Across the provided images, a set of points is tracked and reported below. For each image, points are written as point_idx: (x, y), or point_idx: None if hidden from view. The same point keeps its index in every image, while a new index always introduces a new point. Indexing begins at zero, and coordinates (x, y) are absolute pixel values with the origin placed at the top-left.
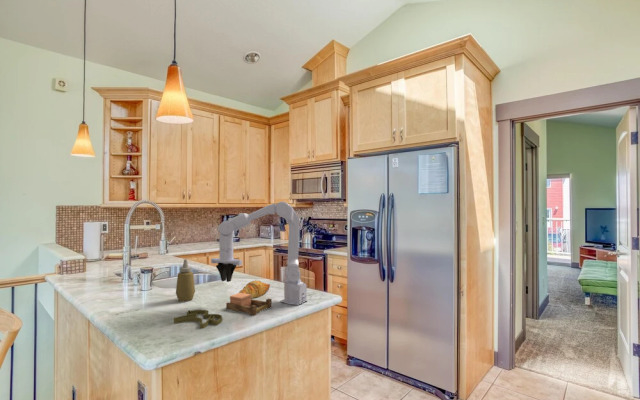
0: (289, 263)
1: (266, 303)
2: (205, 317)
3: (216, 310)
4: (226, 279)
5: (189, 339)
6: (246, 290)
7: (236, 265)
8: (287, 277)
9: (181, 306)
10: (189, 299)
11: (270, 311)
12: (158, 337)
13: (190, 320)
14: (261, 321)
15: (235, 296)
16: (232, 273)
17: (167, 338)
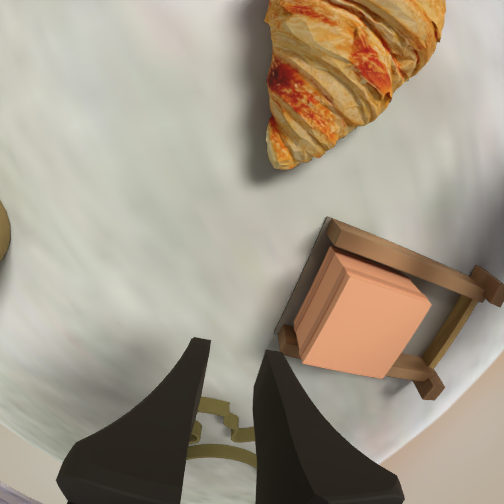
0: None
1: (481, 299)
2: (242, 433)
3: (235, 357)
4: (253, 409)
5: None
6: (348, 110)
7: (400, 487)
8: None
9: (40, 319)
10: (7, 242)
11: (478, 316)
12: (199, 497)
13: (203, 447)
14: (441, 402)
15: (341, 362)
16: (313, 414)
17: (223, 499)
